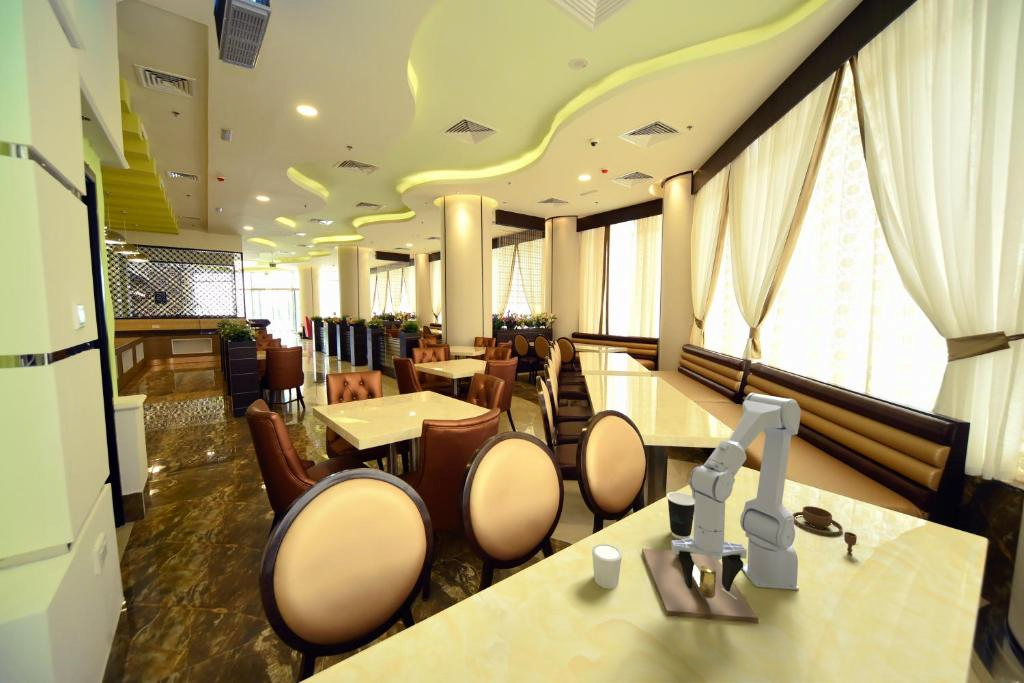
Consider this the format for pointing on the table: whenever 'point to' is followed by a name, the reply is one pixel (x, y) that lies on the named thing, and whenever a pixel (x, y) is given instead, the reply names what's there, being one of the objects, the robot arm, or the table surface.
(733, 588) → the bench base
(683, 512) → the dixie cup
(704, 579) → the lever
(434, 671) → the table surface
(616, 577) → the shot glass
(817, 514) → the place setting
